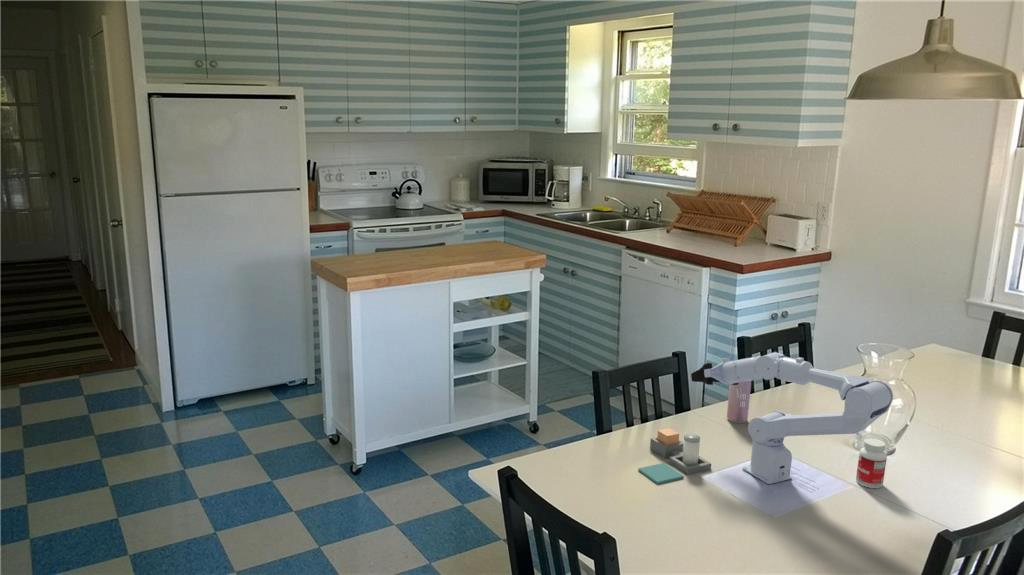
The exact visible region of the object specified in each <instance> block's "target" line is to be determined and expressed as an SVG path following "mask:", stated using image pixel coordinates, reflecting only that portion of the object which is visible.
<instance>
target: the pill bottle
mask: <svg viewBox="0 0 1024 575" xmlns="http://www.w3.org/2000/svg"><path fill="white" fill-rule="evenodd" d="M885 449H886V443H885V442H884V441H882V440H879V439H876V438H865V439H864V441H863V447H861V448H860V449H859V453H858V454H859V455H858V460H857V469H856V475H855V476H856V477H855V480H856V482H857V484H859V486H862V487H864V486H865V487H864V488H867V487H869V488H868V489H873V488H876V489H881V488H882V487H883V485H884V481H885V472H886V466H887V459H888V456H887V453H886V452H885Z"/></svg>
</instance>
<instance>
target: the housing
mask: <svg viewBox="0 0 1024 575" xmlns="http://www.w3.org/2000/svg"><path fill="white" fill-rule="evenodd" d="M649 444H650V445H649V448H650V450H651V451H653V452H655V453H656V454H658V455H659V456H661V457H662V458H664V459H667V458H669V460H668V462H669V464H671V465H672V466H674V467H675V468H677V469H679V470H680V471H682V472H684V473H685V474H686V475H691V474H695V473H699V472H704V471H708V470H709V471H710V470H711V469H712V463H711V462H710V461H708V460H706V459H704V458H703V457H701V456H699V458H698V465H693V466H687V465H685V464H684V463H682V457H683V445H684V441H682V440H681V439H679V443H678V444H673V445H668V446H665V445H664V444H662V443H661V442H659V441H657V436H655V437H650V443H649Z"/></svg>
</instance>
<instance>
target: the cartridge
mask: <svg viewBox="0 0 1024 575" xmlns="http://www.w3.org/2000/svg"><path fill="white" fill-rule="evenodd" d="M683 442H684V445H683V457H682V463H684V464H685V465H687V466H693V465H698V458H699V454H700V445H701V443H700V442H701V437H700V436H699V435H698V434H695V433H686V434H684V435H683Z"/></svg>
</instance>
